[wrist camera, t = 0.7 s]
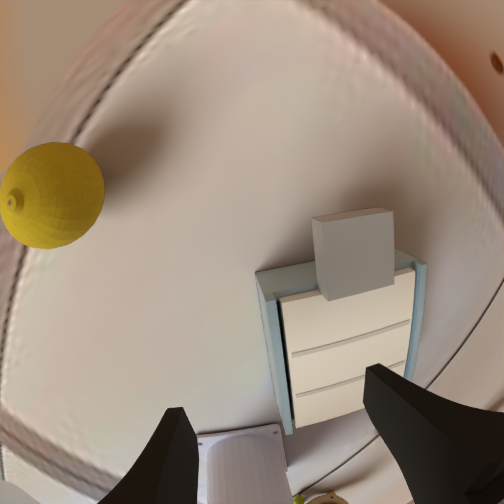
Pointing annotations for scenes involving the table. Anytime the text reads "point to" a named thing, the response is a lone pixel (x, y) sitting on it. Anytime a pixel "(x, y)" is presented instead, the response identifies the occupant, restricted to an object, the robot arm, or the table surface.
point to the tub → (305, 280)
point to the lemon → (51, 195)
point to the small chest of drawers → (347, 315)
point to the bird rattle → (322, 499)
